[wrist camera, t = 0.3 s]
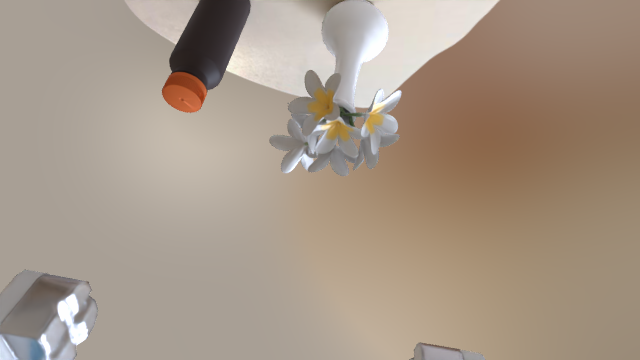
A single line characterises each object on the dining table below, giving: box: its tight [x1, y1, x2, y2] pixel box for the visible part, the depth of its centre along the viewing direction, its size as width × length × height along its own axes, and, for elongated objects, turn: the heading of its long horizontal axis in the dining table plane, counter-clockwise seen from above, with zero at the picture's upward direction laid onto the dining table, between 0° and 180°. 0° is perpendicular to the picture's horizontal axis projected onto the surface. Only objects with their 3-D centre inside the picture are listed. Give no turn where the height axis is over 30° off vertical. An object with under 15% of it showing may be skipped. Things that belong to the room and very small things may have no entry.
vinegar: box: [162, 0, 251, 113], centre depth 58 cm, size 7×7×20 cm
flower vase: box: [269, 0, 401, 176], centre depth 56 cm, size 13×18×25 cm
